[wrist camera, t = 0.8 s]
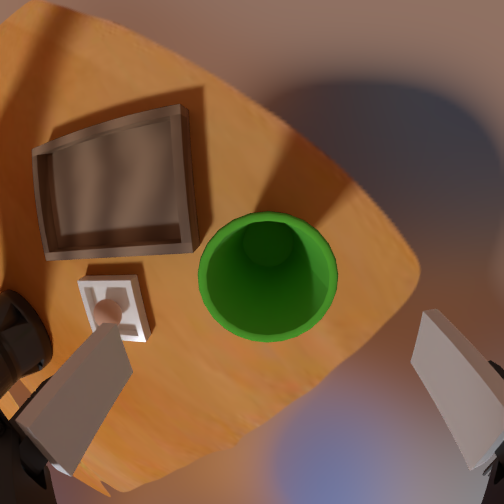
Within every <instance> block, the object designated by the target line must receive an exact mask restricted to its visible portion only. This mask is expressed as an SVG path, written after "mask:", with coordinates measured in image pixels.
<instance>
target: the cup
mask: <svg viewBox="0 0 504 504" xmlns="http://www.w3.org/2000/svg"><path fill="white" fill-rule="evenodd" d="M337 281H338V271H337V264H336V259H335V256H334V254H333V252H332V250H331V247H330V245H329V243H328V242H327V241H326V240H325V239H324V237H323V236H322V235H321V234H320V232H319V231H318V230H316V229H315V228H314V227H312V226H311V225H310V224H308V223H307V222H305V221H304V220H302V219H299V218H297V217H294V216H292V215H289V214H286V213H279V212H271V211H266V212H257V213H250V214H247V215H244V216H242V217H239V218H237V219H234V220H232V221H231V222H229V223H228V224H226V225H225V226H224V227H222V228H221V229H219V230H218V231H217V233H216V234H215V235H214V236H213V237H212V238H211V240H210V241H209V242H208V243H207V245H206V247H205V250H204V252H203V254H202V256H201V258H200V264H199V269H198V283H199V291H200V293H201V296H202V299H203V302H204V304H205V306H206V307H207V309H208V311H209V312H210V314H211V315H212V317H213V318H214V319H215V320H216V321H217V322H218V323H219V324H220V325H222V326H223V327H224V328H225V329H227V330H228V331H230V332H232V333H233V334H235V335H237V336H239V337H242V338H245V339H248V340H251V341H259V342H277V341H284V340H287V339H290V338H294V337H297V336H299V335H300V334H302V333H304V332H306V331H308V330H309V329H311V328H312V327H313V326H314V325H315V324H316V323H317V322H319V321H320V320H321V319H322V317H323V316H324V315H325V313H326V312H327V310H328V309H329V307H330V306H331V304H332V301H333V299H334V296H335V293H336V290H337Z"/></svg>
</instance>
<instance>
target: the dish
mask: <svg viewBox="0 0 504 504" xmlns="http://www.w3.org/2000/svg"><path fill="white" fill-rule="evenodd" d="M77 282H78V285H79V289H80V293H81V296H82V300H83V303H84V306H85V310H86V313H87V316H88V319H89V322H90V325H91V328H92V331H93V332H94V331H95V330H96V329H97V328H98V327H99V325H98V324H97V323H96V321H95V319H94V315H93V312H94V308H95V306H96V304H97V303H98V302H99V301H101V300H103V299H111V300H113V301H115V302H116V303H117V304H118V305H119V306H120V308H121V311H122V319H121V322H120V323H119V325H118V326H117V327H118V330H119V333H120V336H121V339H122V340H126V341H138V342H146V341H147V340H148V338H149V337H150V335H151V332H150V328H149V324H148V320H147V316H146V312H145V308H144V304H143V300H142V295H141V291H140V286H139V282H138V277H137V275H96V276H84V277H82V278H81V279H79V280H78V281H77Z"/></svg>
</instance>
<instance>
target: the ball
mask: <svg viewBox="0 0 504 504" xmlns="http://www.w3.org/2000/svg"><path fill="white" fill-rule="evenodd" d="M93 315H94V319H95V321H96V323H97V324H98V325H99V326H100V325H101V324H102V323H116V324H117V326H118V325H119V323H120V322H121V319H122V311H121V308H120V306H119V305H118V304H117V303H116V302H115V301H113V300H111V299H103V300H101V301H99V302H98V303H97V304H96V306H95V308H94V312H93Z"/></svg>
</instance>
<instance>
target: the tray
mask: <svg viewBox="0 0 504 504" xmlns="http://www.w3.org/2000/svg"><path fill="white" fill-rule="evenodd" d="M32 166H33V181H34V192H35V201H36V208H37V216H38V222H39V228H40V234H41V239H42V244H43V249H44V254H45V258H46V261H53V260H71V259H89V258H107V257H126V256H144V255H163V254H182V253H193V252H194V251H195V250H196V249H197V248H198V247H199V246H200V241H199V233H198V224H197V214H196V204H195V194H194V183H193V171H192V159H191V145H190V129H189V111H188V109H187V108H185V107H184V106H182V105H181V104H177V105H171V106H166V107H162V108H157V109H152V110H148V111H144V112H140V113H135V114H132V115H128V116H124V117H120V118H117V119H113V120H110V121H106V122H103V123H100V124H97V125H94V126H91V127H88V128H85V129H82V130H79V131H76V132H73V133H70V134H68V135H65V136H62V137H60V138H57V139H55V140H52V141H50V142H47V143H45V144H43V145H40V146H38V147H36V148H33V149H32Z"/></svg>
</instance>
